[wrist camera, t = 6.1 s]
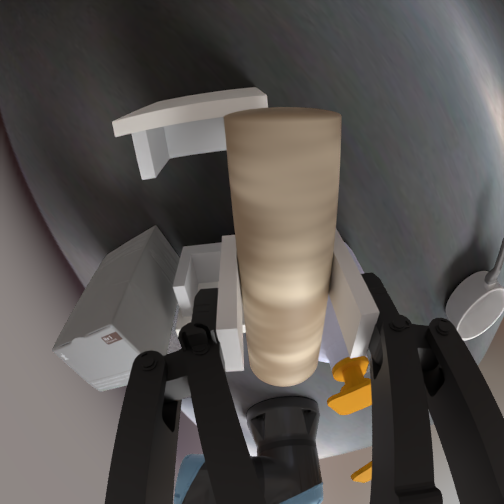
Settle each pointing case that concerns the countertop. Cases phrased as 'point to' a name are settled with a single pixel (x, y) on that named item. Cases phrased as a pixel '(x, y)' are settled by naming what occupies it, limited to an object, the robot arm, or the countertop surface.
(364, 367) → the soap bottle
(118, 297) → the skincare box
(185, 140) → the bracket
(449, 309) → the saucepan
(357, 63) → the countertop surface
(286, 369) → the rail
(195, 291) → the bracket
